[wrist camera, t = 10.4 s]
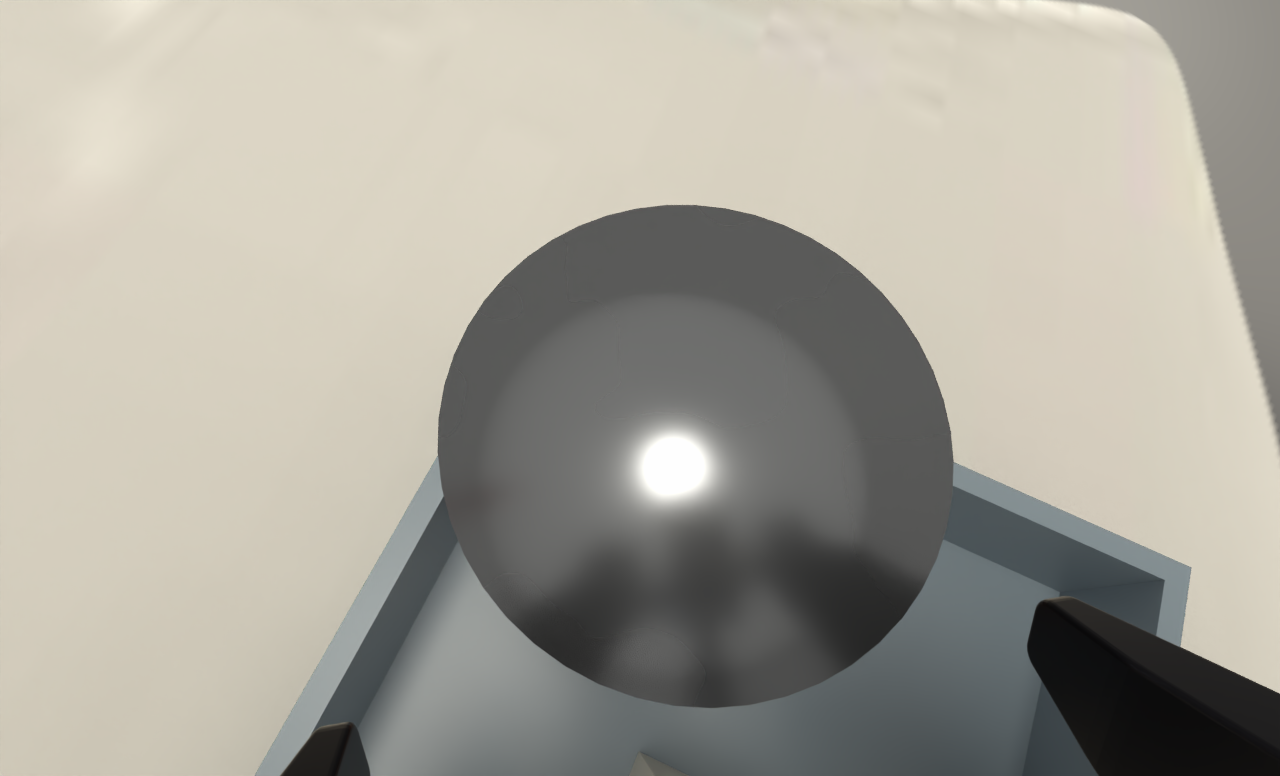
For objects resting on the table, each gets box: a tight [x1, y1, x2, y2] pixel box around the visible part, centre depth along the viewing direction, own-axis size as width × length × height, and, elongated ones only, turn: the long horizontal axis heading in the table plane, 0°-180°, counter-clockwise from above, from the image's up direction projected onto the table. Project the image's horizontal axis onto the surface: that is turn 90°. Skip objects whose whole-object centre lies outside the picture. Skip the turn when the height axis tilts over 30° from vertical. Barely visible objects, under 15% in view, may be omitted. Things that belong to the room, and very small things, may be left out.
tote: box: [255, 456, 1191, 776], centre depth 17 cm, size 18×18×4 cm
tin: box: [438, 205, 954, 708], centre depth 14 cm, size 6×6×13 cm
